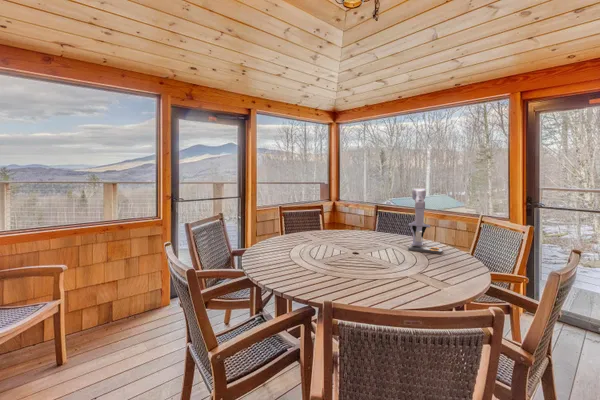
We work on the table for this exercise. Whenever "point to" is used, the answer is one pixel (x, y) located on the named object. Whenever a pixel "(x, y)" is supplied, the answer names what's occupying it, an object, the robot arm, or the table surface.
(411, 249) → the rail
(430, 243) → the table surface
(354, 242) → the table surface
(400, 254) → the table surface
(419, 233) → the drilled metal block
